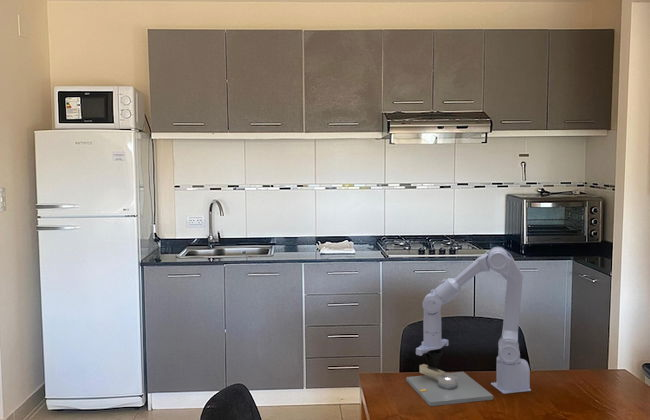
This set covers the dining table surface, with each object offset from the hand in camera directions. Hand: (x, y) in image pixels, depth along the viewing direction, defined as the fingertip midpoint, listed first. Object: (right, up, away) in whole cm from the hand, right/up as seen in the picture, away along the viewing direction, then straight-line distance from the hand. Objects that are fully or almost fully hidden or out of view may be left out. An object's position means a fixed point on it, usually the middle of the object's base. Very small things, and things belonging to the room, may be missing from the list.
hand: (432, 371), depth 178 cm
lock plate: (+3, -3, -7) cm, 9 cm away
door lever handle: (+1, -2, -4) cm, 5 cm away
